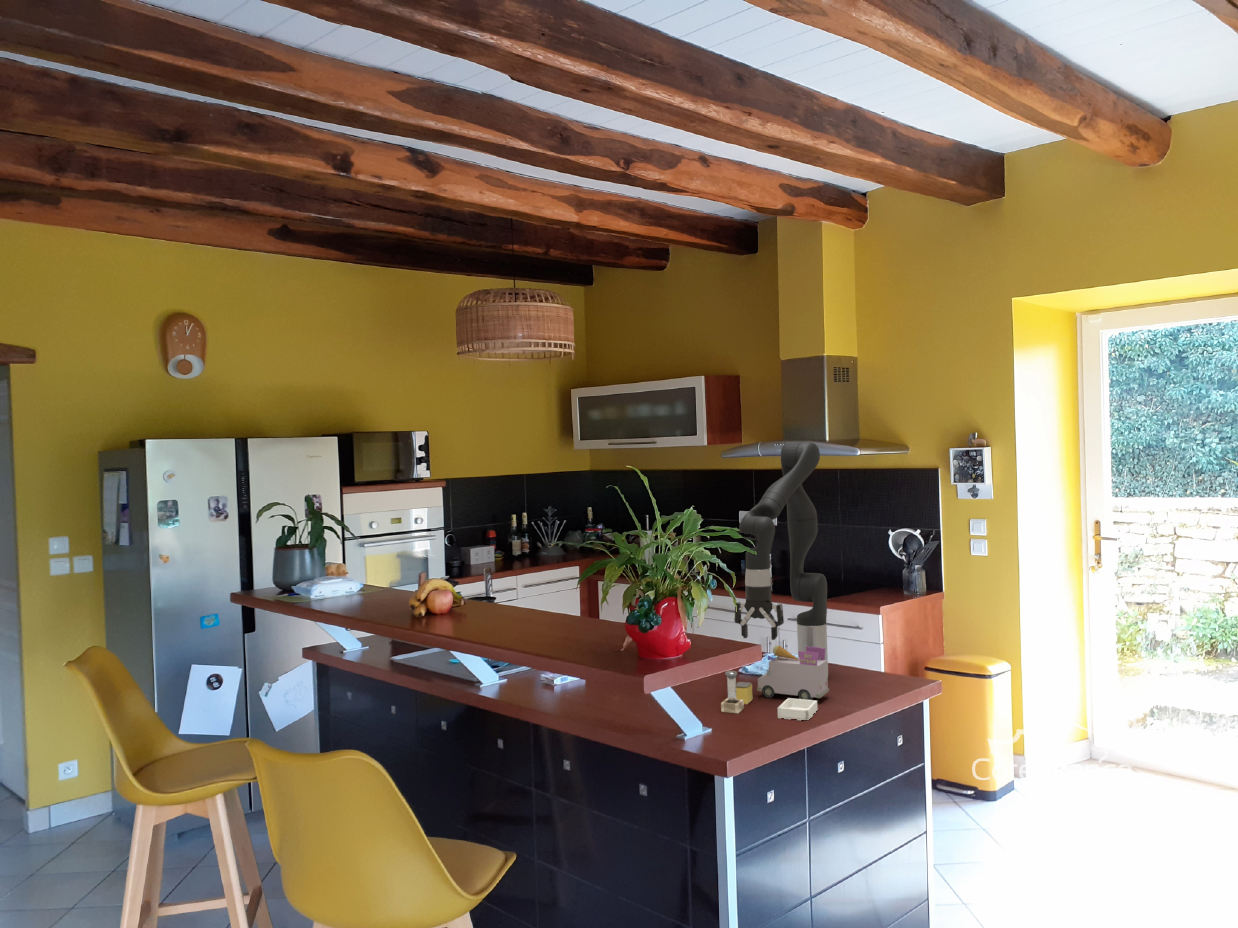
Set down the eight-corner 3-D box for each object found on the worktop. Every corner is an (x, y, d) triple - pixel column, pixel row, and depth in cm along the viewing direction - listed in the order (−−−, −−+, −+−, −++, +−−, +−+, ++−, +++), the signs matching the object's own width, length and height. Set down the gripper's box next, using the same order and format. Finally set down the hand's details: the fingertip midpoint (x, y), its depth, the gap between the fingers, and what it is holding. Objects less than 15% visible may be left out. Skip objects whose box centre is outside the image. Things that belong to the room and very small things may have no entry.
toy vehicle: (767, 689, 283) (766, 641, 283) (830, 696, 273) (828, 646, 273) (756, 697, 275) (754, 647, 275) (819, 705, 265) (818, 653, 265)
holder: (727, 706, 267) (726, 698, 267) (743, 708, 265) (743, 699, 265) (721, 711, 262) (721, 702, 262) (738, 713, 260) (737, 704, 260)
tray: (788, 707, 264) (787, 697, 264) (817, 710, 260) (817, 700, 260) (777, 718, 254) (777, 707, 254) (808, 721, 251) (807, 710, 251)
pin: (729, 707, 266) (727, 670, 266) (740, 708, 264) (739, 671, 264) (724, 711, 263) (723, 673, 262) (736, 712, 261) (735, 674, 261)
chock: (739, 698, 275) (738, 681, 275) (752, 699, 273) (751, 682, 273) (734, 703, 271) (733, 685, 271) (747, 704, 269) (746, 686, 269)
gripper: (785, 582, 274) (786, 637, 275) (738, 581, 280) (740, 634, 281) (778, 586, 268) (779, 642, 268) (731, 584, 274) (732, 639, 274)
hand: (759, 638), depth 274 cm, fingers open, 8 cm apart
